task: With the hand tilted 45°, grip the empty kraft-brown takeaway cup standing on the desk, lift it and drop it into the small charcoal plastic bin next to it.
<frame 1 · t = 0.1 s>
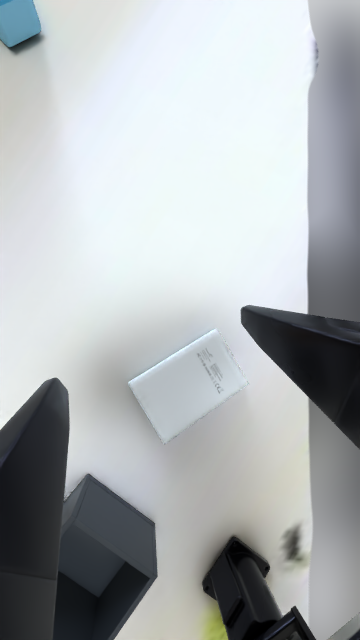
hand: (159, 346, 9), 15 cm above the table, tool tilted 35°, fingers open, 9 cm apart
hard drive: (189, 380, 24), on the table
bin: (94, 535, 21), on the table
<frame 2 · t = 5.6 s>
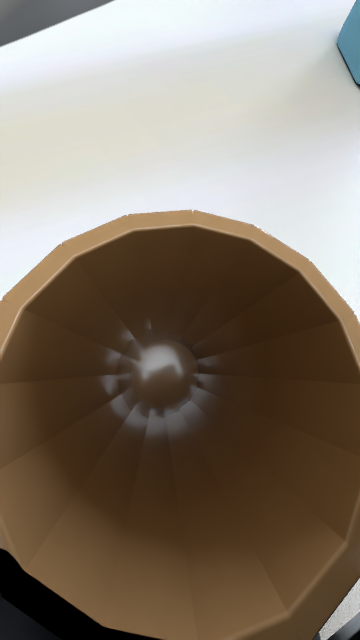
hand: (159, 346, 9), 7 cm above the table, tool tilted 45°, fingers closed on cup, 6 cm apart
cup: (165, 373, 15), on the table, touching gripper
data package: (357, 67, 30), on the table
when the fingers open (7 cm above the table, at t = 11.3 s): cup stays where it is, resting on bin.
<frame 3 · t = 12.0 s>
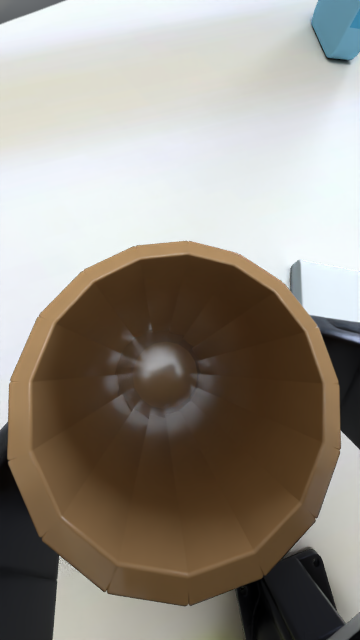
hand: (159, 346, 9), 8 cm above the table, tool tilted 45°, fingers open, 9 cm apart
hard drive: (346, 312, 20), on the table
cup: (165, 373, 16), resting on bin
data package: (328, 44, 34), on the table
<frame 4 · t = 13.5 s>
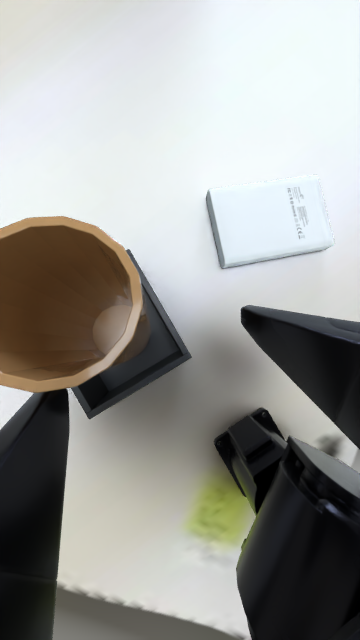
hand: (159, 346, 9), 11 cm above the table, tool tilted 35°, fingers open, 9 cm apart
hard drive: (265, 225, 22), on the table
bin: (123, 331, 20), on the table
cup: (121, 331, 19), point 1 cm above the table, tilted 6°, touching bin, gripper
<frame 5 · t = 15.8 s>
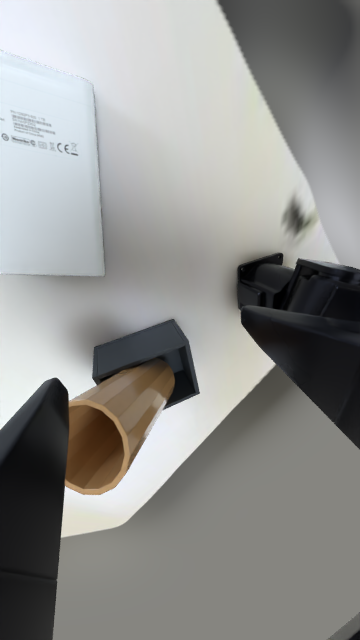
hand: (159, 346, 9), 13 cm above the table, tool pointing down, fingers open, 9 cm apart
hard drive: (43, 189, 15), on the table
bin: (145, 359, 26), on the table
cup: (152, 379, 24), point 2 cm above the table, tilted 41°, touching bin
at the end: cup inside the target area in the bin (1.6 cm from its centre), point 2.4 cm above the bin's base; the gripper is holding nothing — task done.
